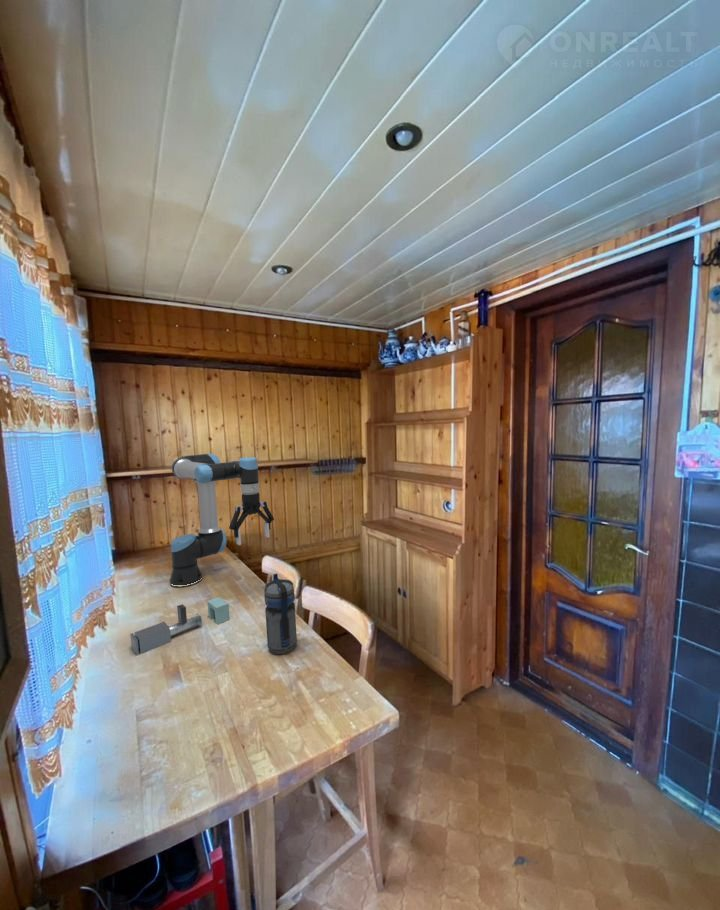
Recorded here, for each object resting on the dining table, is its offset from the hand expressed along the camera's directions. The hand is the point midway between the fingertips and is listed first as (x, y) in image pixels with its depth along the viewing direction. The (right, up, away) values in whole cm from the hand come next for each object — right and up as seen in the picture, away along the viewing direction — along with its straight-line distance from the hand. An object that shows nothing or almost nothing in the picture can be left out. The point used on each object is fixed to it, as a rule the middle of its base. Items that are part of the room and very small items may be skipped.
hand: (253, 540), depth 164 cm
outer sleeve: (-29, -31, -28) cm, 51 cm away
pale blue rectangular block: (-11, -29, -11) cm, 33 cm away
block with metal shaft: (-24, -31, -23) cm, 46 cm away
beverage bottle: (+20, -30, -33) cm, 49 cm away
